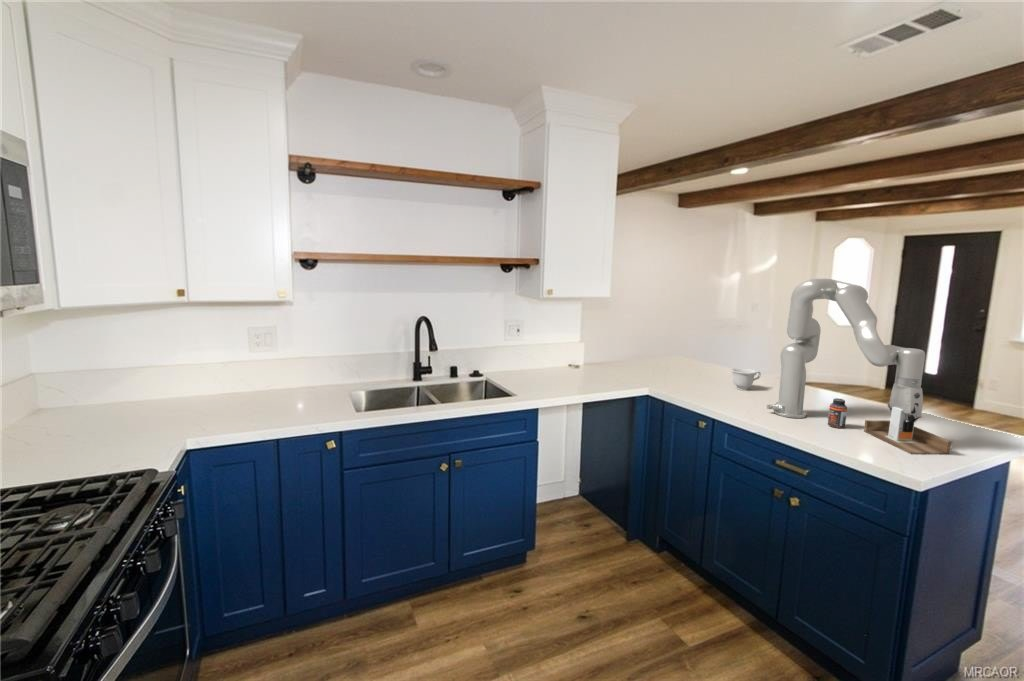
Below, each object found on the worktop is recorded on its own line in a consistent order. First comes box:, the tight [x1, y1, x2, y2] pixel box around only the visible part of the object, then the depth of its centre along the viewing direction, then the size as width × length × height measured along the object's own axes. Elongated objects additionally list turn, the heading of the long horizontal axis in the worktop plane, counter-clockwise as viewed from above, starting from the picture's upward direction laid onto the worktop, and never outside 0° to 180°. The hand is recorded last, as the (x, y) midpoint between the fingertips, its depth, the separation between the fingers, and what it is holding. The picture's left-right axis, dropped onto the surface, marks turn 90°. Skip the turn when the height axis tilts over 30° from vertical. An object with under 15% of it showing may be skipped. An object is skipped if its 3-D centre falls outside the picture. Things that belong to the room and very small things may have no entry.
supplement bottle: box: [827, 398, 848, 429], centre depth 195 cm, size 6×6×11 cm
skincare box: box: [888, 407, 915, 441], centre depth 179 cm, size 6×4×12 cm
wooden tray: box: [863, 419, 953, 455], centre depth 178 cm, size 14×23×5 cm, turn 179°
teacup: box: [731, 367, 762, 391], centre depth 254 cm, size 12×15×10 cm
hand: (901, 428), depth 179 cm, fingers open, 4 cm apart
